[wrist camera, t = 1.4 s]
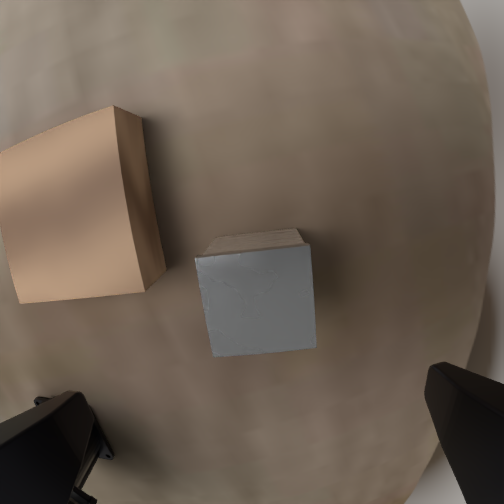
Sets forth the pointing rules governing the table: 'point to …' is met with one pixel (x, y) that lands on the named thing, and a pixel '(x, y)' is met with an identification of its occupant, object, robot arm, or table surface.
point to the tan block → (80, 210)
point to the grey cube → (258, 293)
